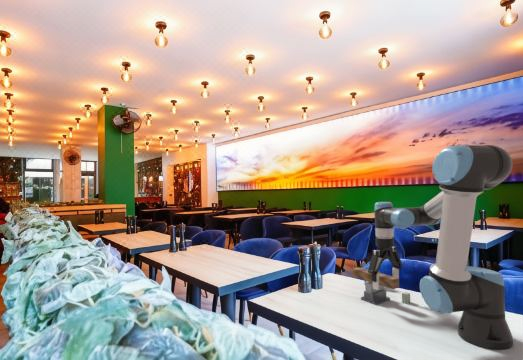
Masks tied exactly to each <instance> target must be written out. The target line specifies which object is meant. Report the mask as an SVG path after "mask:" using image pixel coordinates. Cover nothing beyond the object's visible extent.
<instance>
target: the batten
mask: <svg viewBox="0 0 523 360" xmlns="http://www.w3.org/2000/svg"><path fill="white" fill-rule="evenodd" d="M377 274H379V285H381V286H384V288H388V289H392V290H395V289H399V288H400V277H399V278H397V277H393V276H392V275H388V274H385V273H382V272H381V273H377ZM352 278H355V279H357V280H361V281H363V282H365V281H367V282H371V283H373V281H372V274H371V273H368V270H367V268H363V267H359V266H357V267H355V268H352Z"/></svg>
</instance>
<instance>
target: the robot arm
mask: <svg viewBox="0 0 523 360" xmlns="http://www.w3.org/2000/svg"><path fill="white" fill-rule="evenodd" d="M512 169H513V159H512V157H511V155H510V154H509V152H507V150H505V149H504V148H502V147H499V146H497V145H494V144H484V145H483V144H481V145H479V144H478V145H477V144H476V145H475V144H474V145H473V144H471V145H470V144H469V145H468V144H467V145H466V144H458V145H450V146H447V147H445V148H443V149H442V150H440V151H439V152H438V153H437V154H436V156H435V158H434V160H433V162H432V169H431V170H432V175H433V178H434V179H435V181H437V183H439V186H438V187H439V189H440V190H441V191H440V192H439V193H438V194H437V195H435V196H434V197H433V198H431V199H430V200H429V201H428V202H426V203H424V204H423V205H422V206H414V207H412V206H411V207H394V206H393V203H392V202H391V201H377V202H375V203H374V211H373V213H374V227H375V228H374V229H375V246H376V247H377V249H376V250H375V249H372V255H371V257H370V261H369V262H370V263H369V264H370V265H368V268H369V269H368V273H371V274H372V281H373V289H376V290H379V274H377V273H378V271H380V268H381V266H382V264H383V262H384V261H385V260H387V259H388V260H389V262H390V264H391V265H392V268H391V269H392V275H391V276H393V277H397V278H399V279H400V269H402V266H403V262H402V260H401V258H400V255H399V253H398V247H397V246H395V239H394V237H395V231H394V229H395V228H394V227H397V228H399V229H407V228H410V227H415V226H434V225H438V224H439V225H440V226H439V234H438V239H437V240H438V241H437V251H436V258H435V263H433V264H431V265H430V266H429V273H428V275H425V276H423V277H422V278H421V279H420V281H419V291H420V295H421V297H422V299H423V301H424V303H425V304H426V305H427V307H428V308H429V309H430V310H432V311H433V312H435V313H437V314H452V313H457V312H458V313H460V312H462V314H461V316H460V319H459V321H458V325H457V333H458V334H457V335H458V336H459V337H460V338H461V339H463V340H464V341H466V342H467V343H469V344H472V345H474V346H478V347H482V348H486V349H491V350H506V349H510V348H512V347H513V346H514V336H513V334H512V332H511V329H510V327H509V324H508V322H507V320H506V302H505V301H506V300H505V299H506V295H505V287H506V285H505V282H504V277H503V275H502V274H501V273H500V272H498V271H495V270H492V269H488V268H485V267H479V266H469V265H468V260H469V253H470V246H471V239H472V231H473V226H474V225H473V224H474V218H475V211H476V204H477V197H478V196H479V195H481V194H483V193H484V191H485V190H491V189H493V188H495V187H496V186H498V185H500V184H501V183H503V182H504V181H505V180H506V179H507V178H508V177H509V176H510V174H511V173H512V171H513V170H512Z"/></svg>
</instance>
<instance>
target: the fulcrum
mask: <svg viewBox="0 0 523 360" xmlns="http://www.w3.org/2000/svg"><path fill="white" fill-rule="evenodd" d="M365 286H366V290H363V296H361V297H360V300H362V301H364V302H366V303H369V304H372V305H374V306H376V305H379V304H382V303H385V302H388V301H391V297H389V296H387V289H385V287H384V286H381V285H379V290H376V289H373V283H371V282H367V283H365V282H364V287H365Z"/></svg>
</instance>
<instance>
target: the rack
mask: <svg viewBox="0 0 523 360" xmlns="http://www.w3.org/2000/svg"><path fill="white" fill-rule="evenodd" d="M365 283H367V282H365V281H364V284H365ZM364 287H365V290H364V291H366V286H365V285H364ZM401 303H403V304H406V305H407V304H409V303H411V293H410V292H407V291H405V292H402V293H401Z"/></svg>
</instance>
